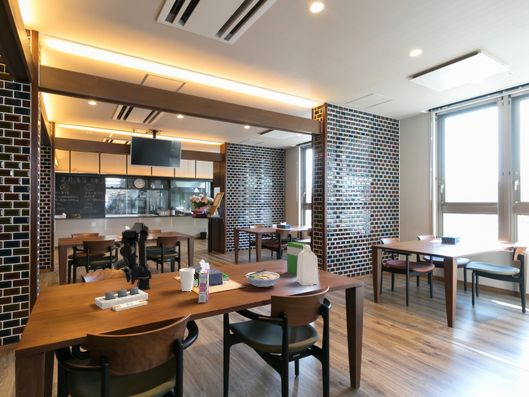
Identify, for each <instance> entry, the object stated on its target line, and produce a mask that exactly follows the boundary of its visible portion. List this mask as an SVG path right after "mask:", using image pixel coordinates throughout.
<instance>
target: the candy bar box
mask: <svg viewBox="0 0 529 397" xmlns="http://www.w3.org/2000/svg"><path fill="white" fill-rule="evenodd" d="M209 270H210V268H208V269H207V268H201V269H200V270H199V271H200V272H199V287H198V294H197V295H198V299H197V302H198V304H206V303H208V300H209V296H210V285H209Z"/></svg>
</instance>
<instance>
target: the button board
mask: <svg viewBox="0 0 529 397" xmlns="http://www.w3.org/2000/svg"><path fill="white" fill-rule="evenodd" d="M142 299H143V300H148V299H149V293H147V292H145V291H144V290H138V294H136V295H130V290H129V291H127V296H126V297H121V298H119V297H118V293H114V299H111V300H105V295H104V296H99V297H95V298H94V304H95V305H96V306H97V307H99V308H100V309H101V310H105V309H111V308H112V306H115V305H119V304H124V303H128V302H133V301H137V300H142Z"/></svg>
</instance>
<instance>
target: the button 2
mask: <svg viewBox="0 0 529 397" xmlns="http://www.w3.org/2000/svg"><path fill="white" fill-rule="evenodd" d="M129 291H130V295H136V294H138V287H137V286H132V287H130V288H129Z"/></svg>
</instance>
